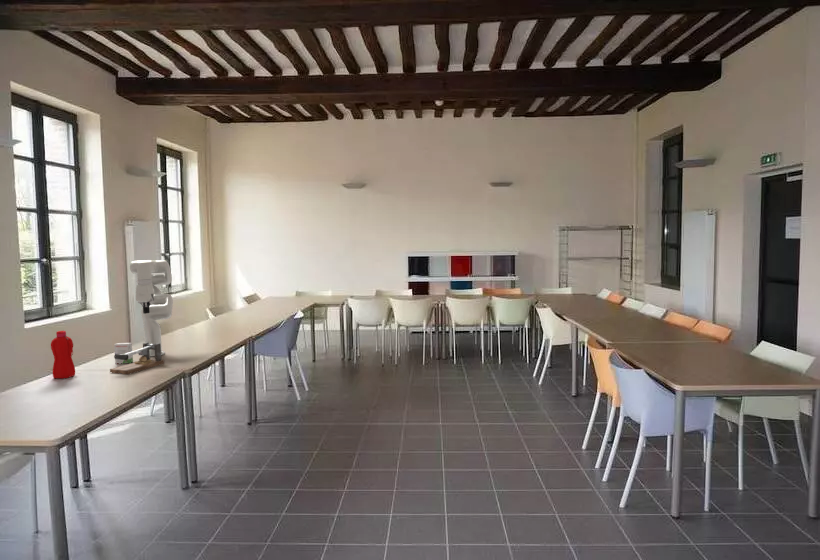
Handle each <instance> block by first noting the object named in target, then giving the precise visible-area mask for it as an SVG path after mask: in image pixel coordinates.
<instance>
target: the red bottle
mask: <svg viewBox="0 0 820 560" xmlns="http://www.w3.org/2000/svg"><path fill="white" fill-rule="evenodd" d="M50 349H51V352H52V355H53V359H54V360H53V365H52V377H53V378H54V379H60V380H61V379H63V380H64V378H65V379H68V378H71V377H74V376H75V375H76V369H75V364H74V361H73V357H72V356H73V355H74V342H73V338H71V337H70V336H67V332H66V330H58V331H56V337H55V338H53V339H52V340H51V342H50Z"/></svg>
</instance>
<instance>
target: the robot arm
mask: <svg viewBox="0 0 820 560" xmlns="http://www.w3.org/2000/svg"><path fill="white" fill-rule="evenodd" d="M170 266H171V265H170V264H169V262H168V261H167V260H165V259H164V260H163V259H160V260H158V259H157V260H156V259H155V260H151V259H147V260H145V259H144V260H134V261H131V262H130V264H129V270H130V272H131V273H132V274H136V277H137V281H136V282H137V284H136V287H135V301H136V302H137V303H138V304H140V305H141V307H142V308H141V309H140V310H141V311H140V313H141V316H142V317H141V318H142V321H143V333H144V343H149V344H157V343H160V345H161V356H163V355H165V354H166V353H165V352H166V351H164V350H163V348H162V346H163V345H162V331H161V325H160V324H159V322H158V321H157V320H168V319H170V318H171V317H172V315H173V314H172V313H173V306H174V305H173V296H172V295H171V294H170V293H162V290H161V289H160V288H158V287H157V286H164V285H165V286H167V285H170V284H172V280H173V277H172V273H171V267H170ZM149 353H150V357H155V350H149Z"/></svg>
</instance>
